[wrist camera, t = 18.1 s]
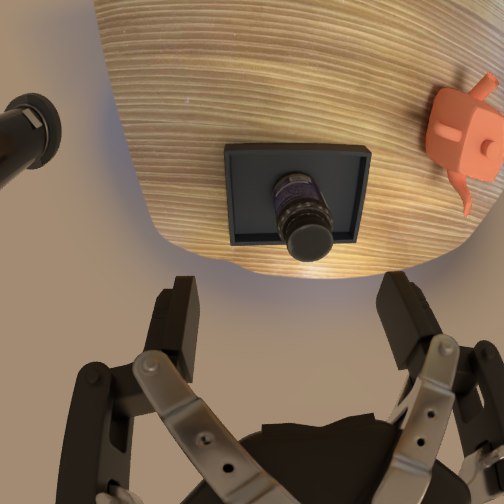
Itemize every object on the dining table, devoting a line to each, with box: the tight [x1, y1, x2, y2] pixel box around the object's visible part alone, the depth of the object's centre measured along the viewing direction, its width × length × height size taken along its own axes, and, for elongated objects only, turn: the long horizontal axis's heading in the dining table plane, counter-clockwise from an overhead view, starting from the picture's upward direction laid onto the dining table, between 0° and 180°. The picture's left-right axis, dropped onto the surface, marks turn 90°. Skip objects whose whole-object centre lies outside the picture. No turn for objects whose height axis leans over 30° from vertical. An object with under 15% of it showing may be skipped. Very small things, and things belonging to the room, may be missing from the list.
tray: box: [224, 143, 372, 246], centre depth 38 cm, size 17×13×3 cm
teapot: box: [425, 72, 504, 217], centre depth 29 cm, size 14×12×10 cm
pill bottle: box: [272, 173, 333, 262], centre depth 35 cm, size 6×6×11 cm
